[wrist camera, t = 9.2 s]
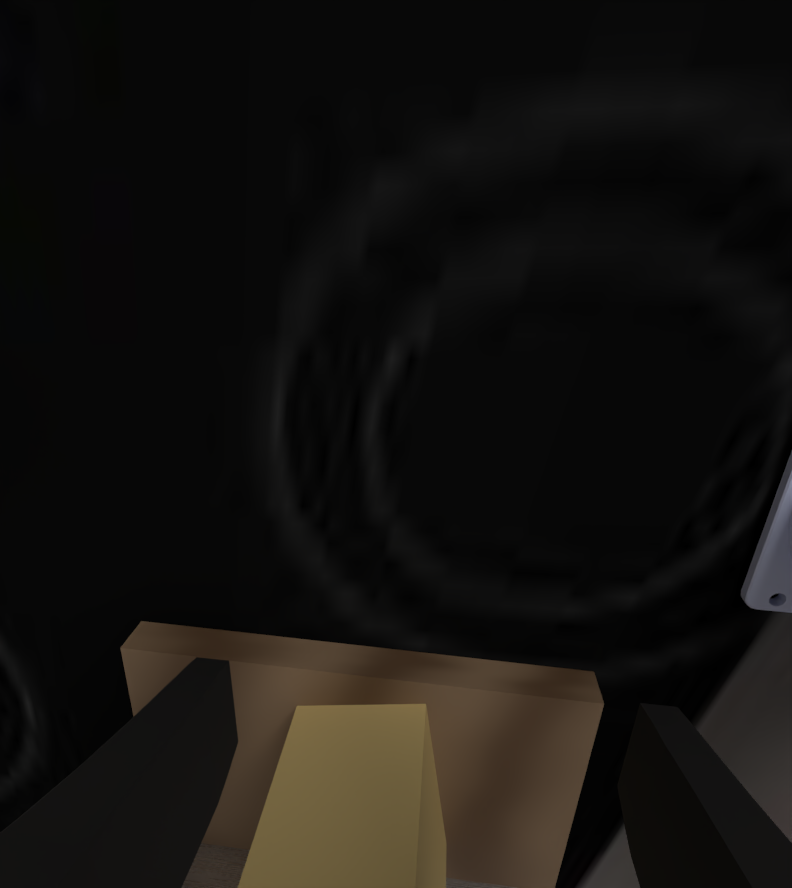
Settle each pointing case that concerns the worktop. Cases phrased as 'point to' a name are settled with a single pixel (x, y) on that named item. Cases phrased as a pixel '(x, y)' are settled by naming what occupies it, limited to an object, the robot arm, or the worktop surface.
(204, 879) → the rail
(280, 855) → the box
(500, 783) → the shelf board
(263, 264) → the worktop surface
